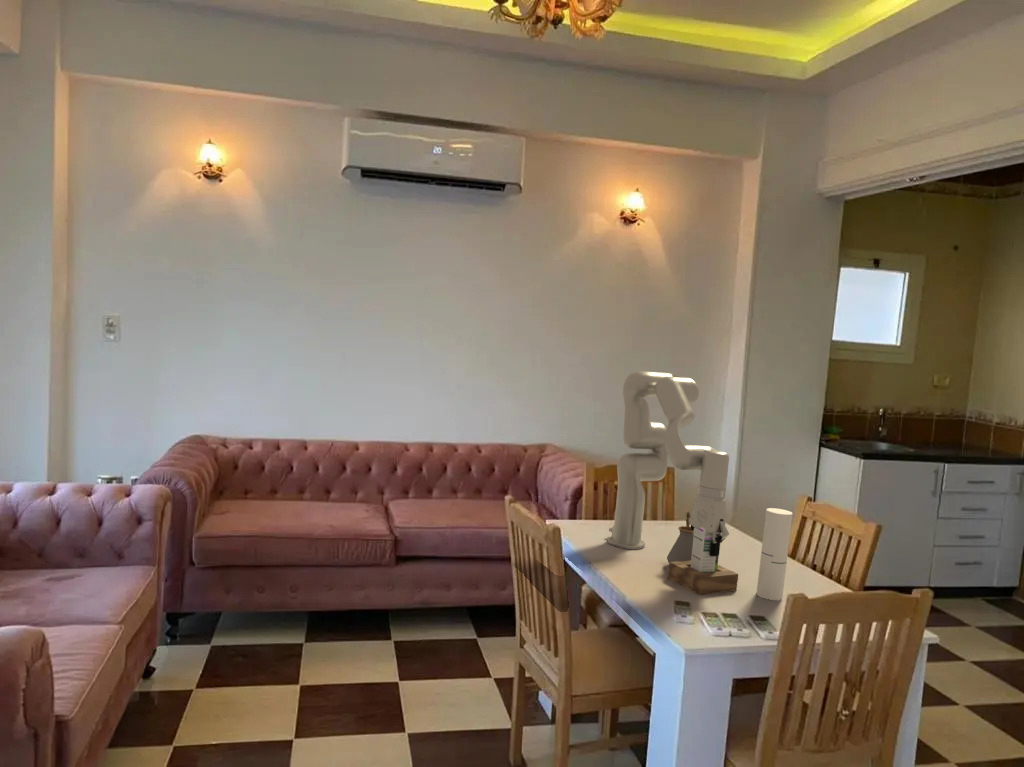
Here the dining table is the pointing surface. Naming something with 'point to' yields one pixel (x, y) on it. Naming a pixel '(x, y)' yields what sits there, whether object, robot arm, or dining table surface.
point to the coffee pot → (682, 544)
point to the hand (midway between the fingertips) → (705, 551)
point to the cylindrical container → (774, 553)
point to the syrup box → (703, 552)
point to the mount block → (702, 578)
